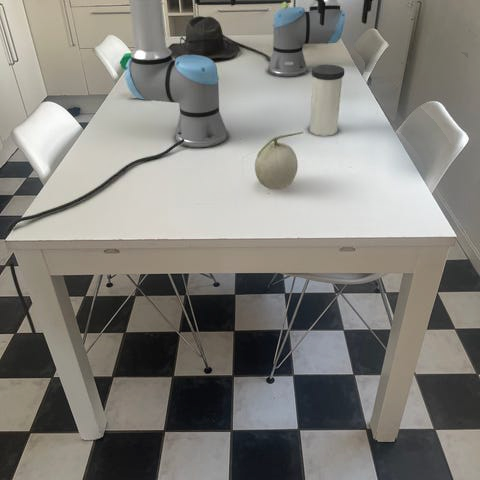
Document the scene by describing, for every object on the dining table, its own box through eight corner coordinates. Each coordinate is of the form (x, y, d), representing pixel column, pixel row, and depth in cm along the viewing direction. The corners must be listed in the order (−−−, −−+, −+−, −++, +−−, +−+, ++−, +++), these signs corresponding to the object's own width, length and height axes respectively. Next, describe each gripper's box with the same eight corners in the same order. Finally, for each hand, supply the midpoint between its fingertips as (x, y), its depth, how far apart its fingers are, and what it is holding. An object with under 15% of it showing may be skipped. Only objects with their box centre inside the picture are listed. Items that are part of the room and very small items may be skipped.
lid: (313, 69, 154) (314, 63, 153) (345, 70, 152) (345, 65, 151) (309, 78, 146) (309, 73, 145) (342, 80, 144) (342, 75, 143)
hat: (242, 41, 245) (242, 9, 237) (234, 63, 217) (233, 27, 208) (177, 41, 248) (174, 9, 240) (160, 63, 220) (157, 27, 211)
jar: (311, 123, 163) (315, 65, 152) (338, 126, 161) (344, 67, 151) (307, 134, 156) (311, 74, 146) (335, 136, 154) (341, 76, 144)
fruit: (243, 186, 130) (242, 131, 122) (278, 172, 136) (279, 118, 127) (270, 202, 124) (271, 145, 115) (305, 187, 129) (308, 131, 121)
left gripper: (251, -67, 169) (252, 3, 181) (182, -67, 176) (187, 0, 188) (244, -65, 163) (245, 7, 175) (172, -65, 170) (178, 4, 182)
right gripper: (311, -52, 145) (306, 28, 157) (396, -54, 147) (385, 24, 159) (305, -55, 151) (301, 22, 163) (387, -57, 153) (377, 19, 165)
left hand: (215, 4), depth 181 cm, fingers open, 13 cm apart
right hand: (342, 23), depth 161 cm, fingers open, 13 cm apart
